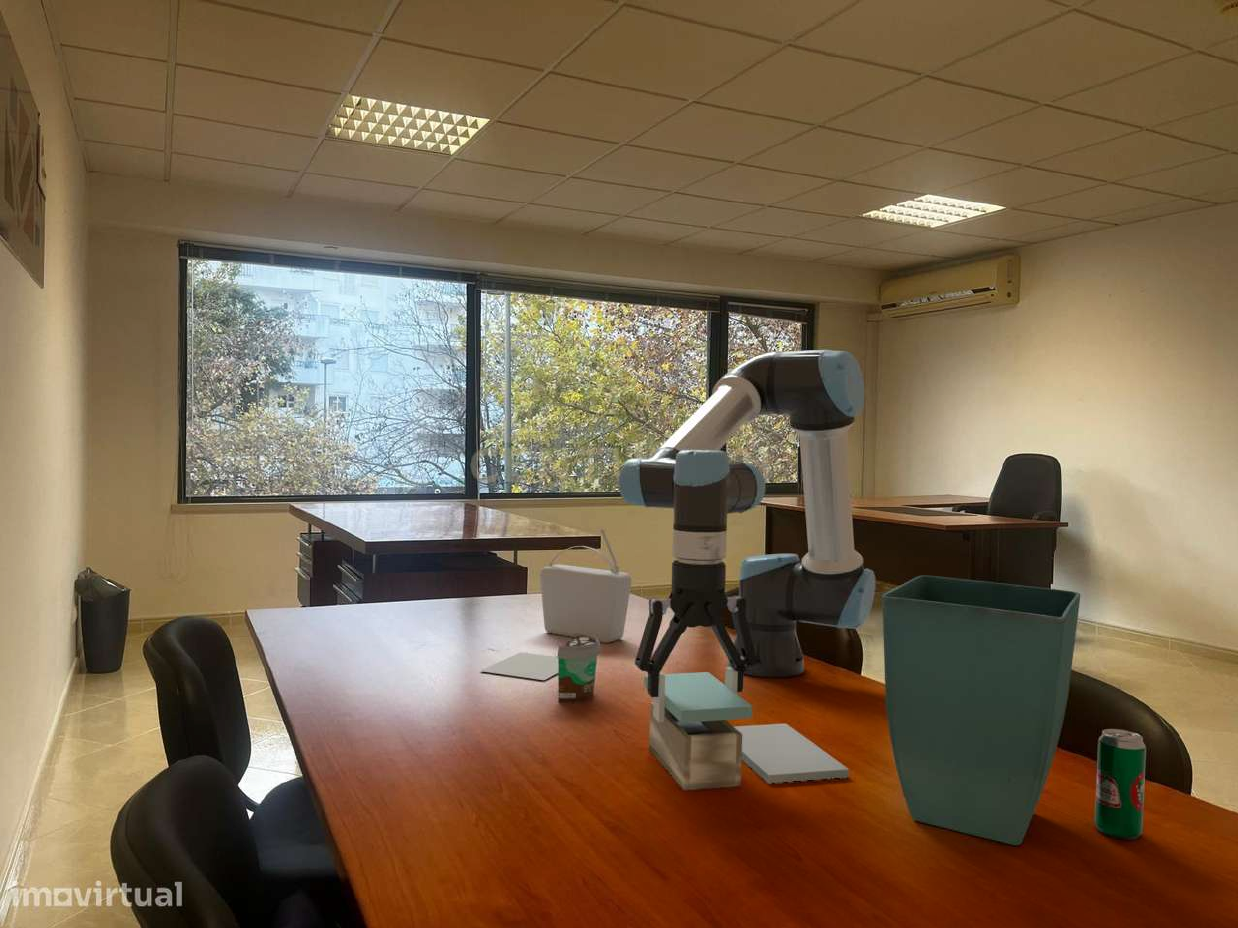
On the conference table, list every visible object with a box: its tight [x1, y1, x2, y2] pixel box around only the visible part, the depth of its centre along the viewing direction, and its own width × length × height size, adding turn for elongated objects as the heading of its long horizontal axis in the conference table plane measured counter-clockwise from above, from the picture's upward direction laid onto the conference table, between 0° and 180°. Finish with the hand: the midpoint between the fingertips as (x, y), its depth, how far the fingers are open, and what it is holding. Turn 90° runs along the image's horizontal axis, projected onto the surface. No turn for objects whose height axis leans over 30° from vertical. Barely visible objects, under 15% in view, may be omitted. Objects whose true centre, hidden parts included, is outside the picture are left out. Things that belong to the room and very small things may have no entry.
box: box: [648, 701, 743, 791], centre depth 127 cm, size 8×16×7 cm, turn 15°
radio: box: [539, 528, 632, 644], centre depth 207 cm, size 22×8×25 cm, turn 58°
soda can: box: [1094, 728, 1147, 841], centre depth 109 cm, size 5×5×12 cm
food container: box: [557, 632, 602, 703], centre depth 159 cm, size 12×6×10 cm, turn 168°
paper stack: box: [480, 651, 558, 681], centre depth 184 cm, size 23×25×1 cm
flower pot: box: [881, 575, 1081, 846], centre depth 111 cm, size 20×20×28 cm
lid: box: [643, 671, 754, 723], centre depth 127 cm, size 10×17×2 cm, turn 15°
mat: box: [733, 723, 850, 785], centre depth 132 cm, size 12×20×1 cm, turn 15°
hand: (694, 716), depth 127 cm, fingers closed on lid, 10 cm apart
